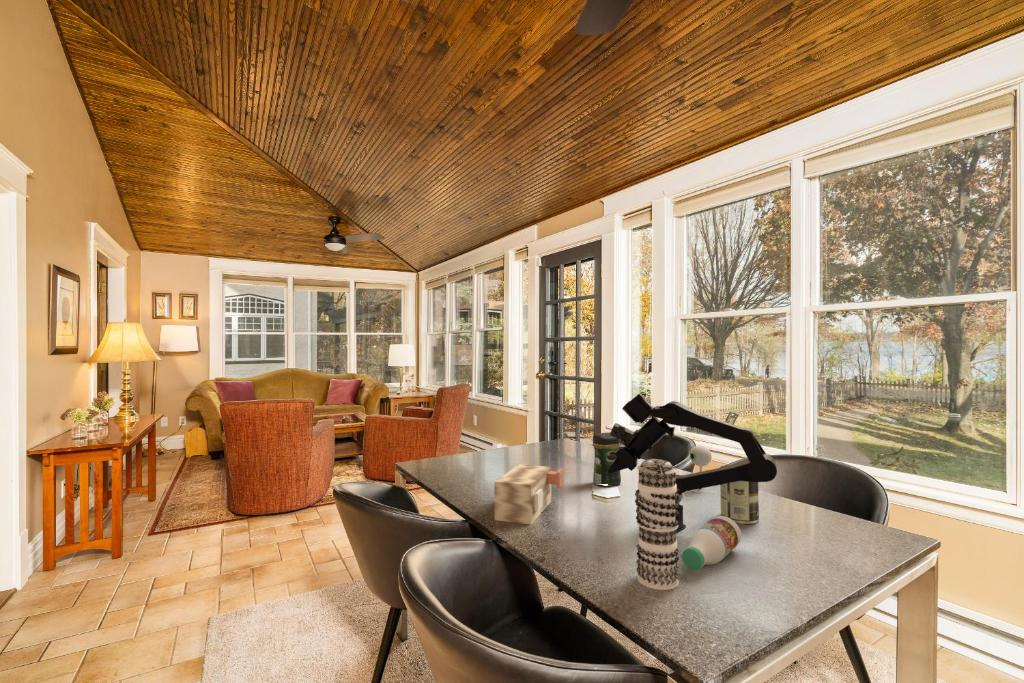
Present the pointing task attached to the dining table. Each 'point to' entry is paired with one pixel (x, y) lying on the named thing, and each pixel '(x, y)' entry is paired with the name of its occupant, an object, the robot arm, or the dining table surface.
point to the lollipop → (700, 456)
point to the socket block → (521, 493)
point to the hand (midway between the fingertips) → (608, 472)
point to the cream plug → (538, 499)
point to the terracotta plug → (555, 478)
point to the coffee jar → (605, 459)
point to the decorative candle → (657, 525)
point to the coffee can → (740, 501)
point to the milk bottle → (711, 543)
